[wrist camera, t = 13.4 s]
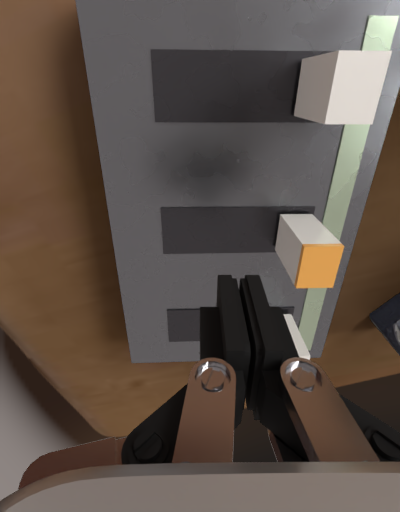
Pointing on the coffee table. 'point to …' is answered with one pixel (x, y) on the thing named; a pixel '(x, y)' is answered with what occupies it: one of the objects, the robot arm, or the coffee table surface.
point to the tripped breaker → (308, 251)
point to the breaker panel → (224, 151)
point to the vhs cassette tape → (389, 321)
